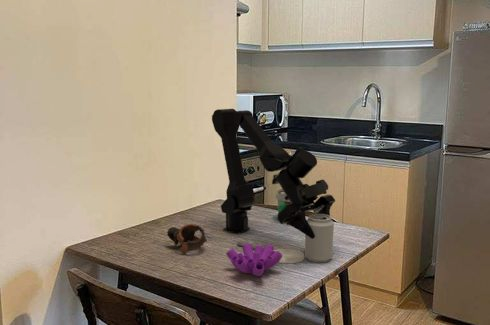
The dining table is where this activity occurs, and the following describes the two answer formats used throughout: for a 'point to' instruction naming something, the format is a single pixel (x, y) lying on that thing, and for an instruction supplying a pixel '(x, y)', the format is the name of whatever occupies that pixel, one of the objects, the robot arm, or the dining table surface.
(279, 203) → the food container
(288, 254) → the disc
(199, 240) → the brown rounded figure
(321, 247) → the can
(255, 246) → the thin grey rod
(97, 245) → the dining table surface
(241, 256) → the purple tube coral sculpture
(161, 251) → the dining table surface
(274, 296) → the dining table surface
